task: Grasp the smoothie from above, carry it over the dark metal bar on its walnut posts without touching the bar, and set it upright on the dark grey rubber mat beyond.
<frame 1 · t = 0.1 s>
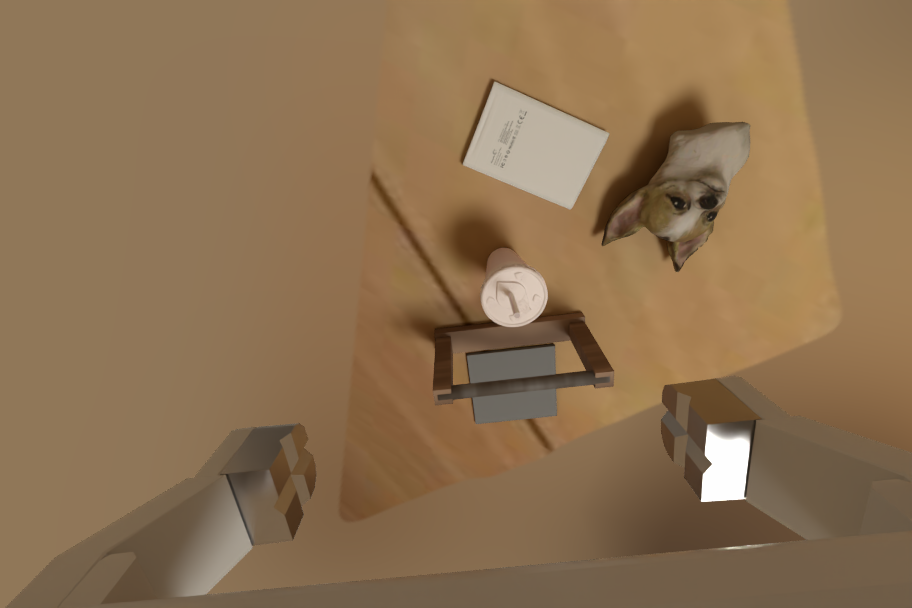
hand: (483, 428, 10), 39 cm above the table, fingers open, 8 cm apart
external hard drive: (532, 147, 45), on the table
ceramic sculpture: (665, 190, 46), on the table
smoothie: (503, 262, 49), on the table
bar hurdle: (508, 331, 53), on the table
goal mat: (513, 384, 56), on the table
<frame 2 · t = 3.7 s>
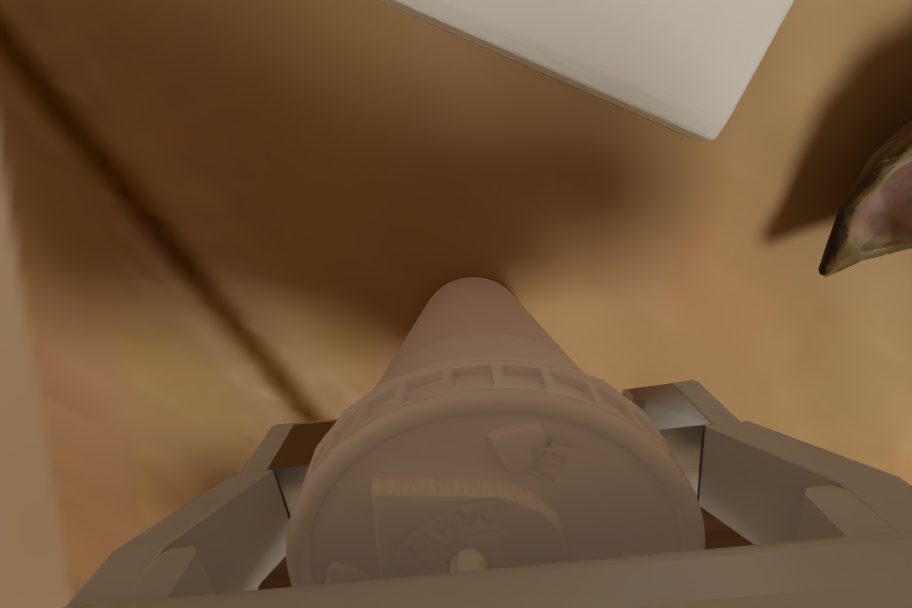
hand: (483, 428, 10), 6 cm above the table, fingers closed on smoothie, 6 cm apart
smoothie: (472, 324, 16), on the table, touching gripper
bar hurdle: (495, 518, 19), on the table
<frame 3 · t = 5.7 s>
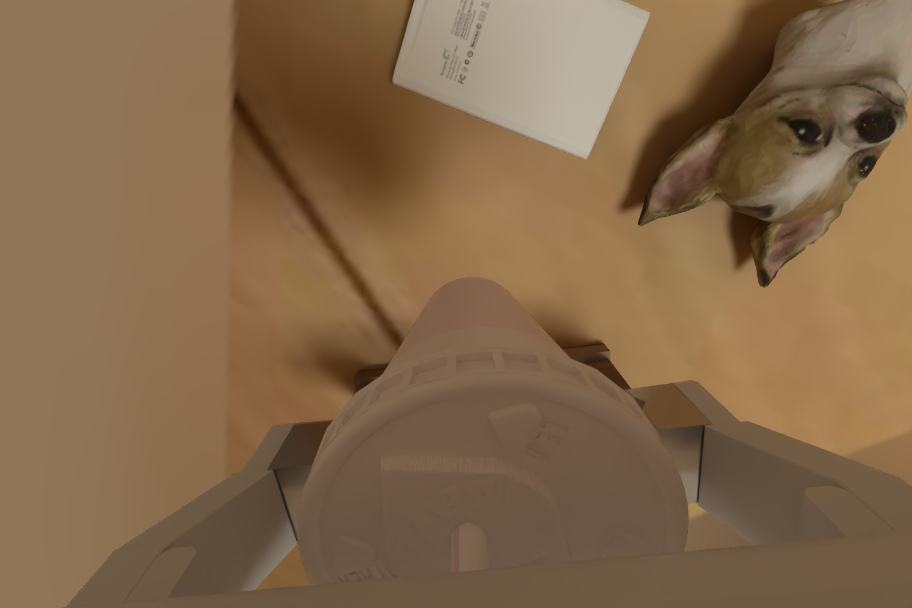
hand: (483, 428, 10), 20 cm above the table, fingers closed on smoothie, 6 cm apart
external hard drive: (514, 54, 26), on the table
ceramic sculpture: (750, 144, 27), on the table
smoothie: (471, 323, 16), point 13 cm above the table, touching gripper
bar hurdle: (481, 376, 32), on the table
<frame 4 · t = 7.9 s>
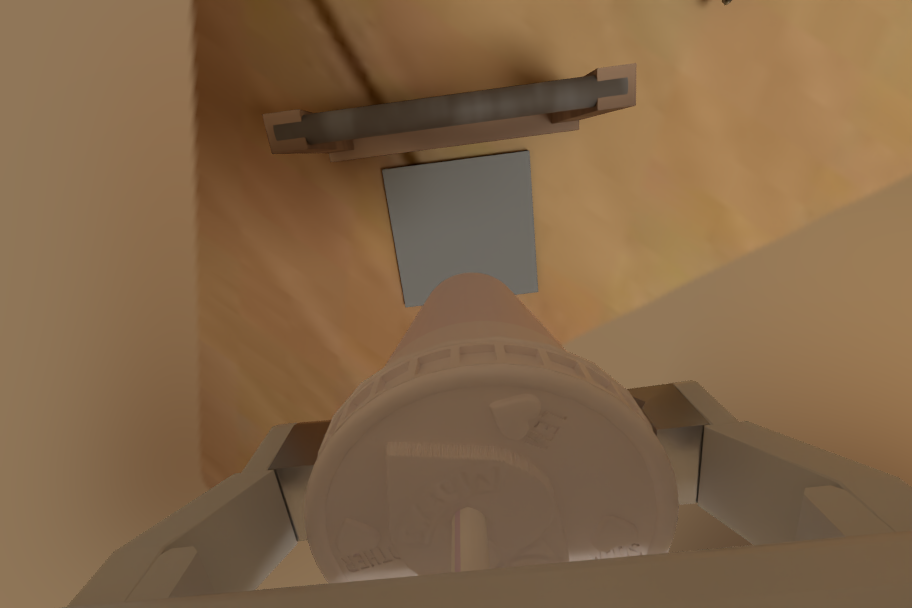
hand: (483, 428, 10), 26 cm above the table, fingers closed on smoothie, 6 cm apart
smoothie: (471, 317, 16), point 19 cm above the table, touching gripper
bar hurdle: (450, 124, 32), on the table
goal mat: (463, 232, 34), on the table
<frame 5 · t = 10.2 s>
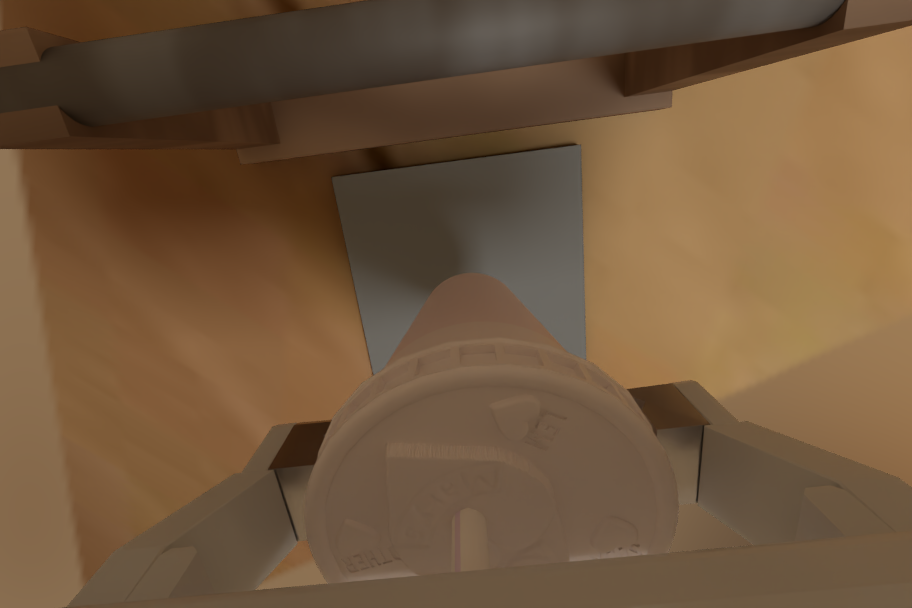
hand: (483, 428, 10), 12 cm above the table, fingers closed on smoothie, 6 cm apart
smoothie: (471, 318, 16), point 5 cm above the table, touching gripper
bar hurdle: (447, 99, 18), on the table
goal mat: (468, 277, 21), on the table
when the fingers open (8 cm above the table, at t = 12.1 s): smoothie moves 1 cm, resting on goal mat.
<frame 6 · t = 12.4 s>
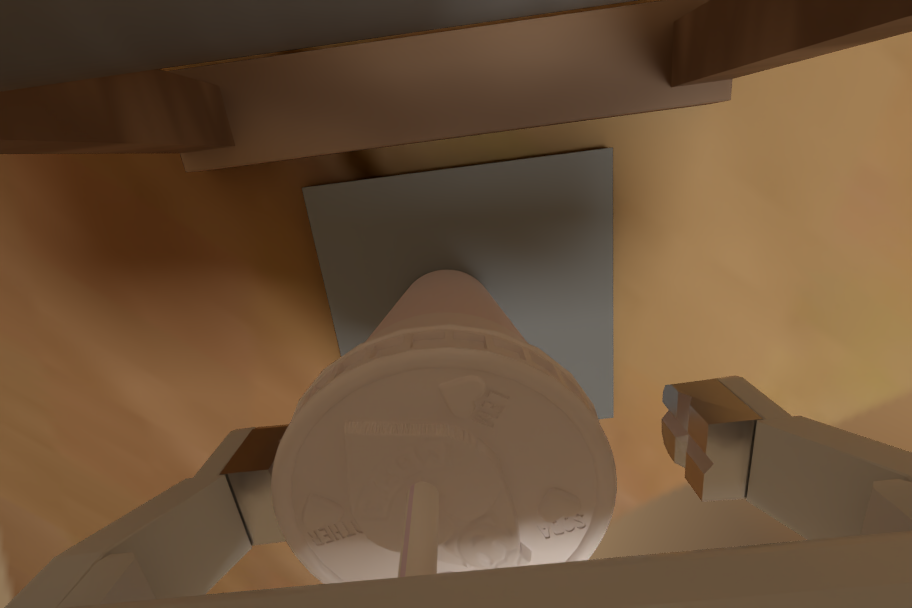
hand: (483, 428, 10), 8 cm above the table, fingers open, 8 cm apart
smoothie: (447, 313, 17), resting on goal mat, touching gripper
bar hurdle: (445, 91, 15), on the table
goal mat: (471, 309, 17), on the table
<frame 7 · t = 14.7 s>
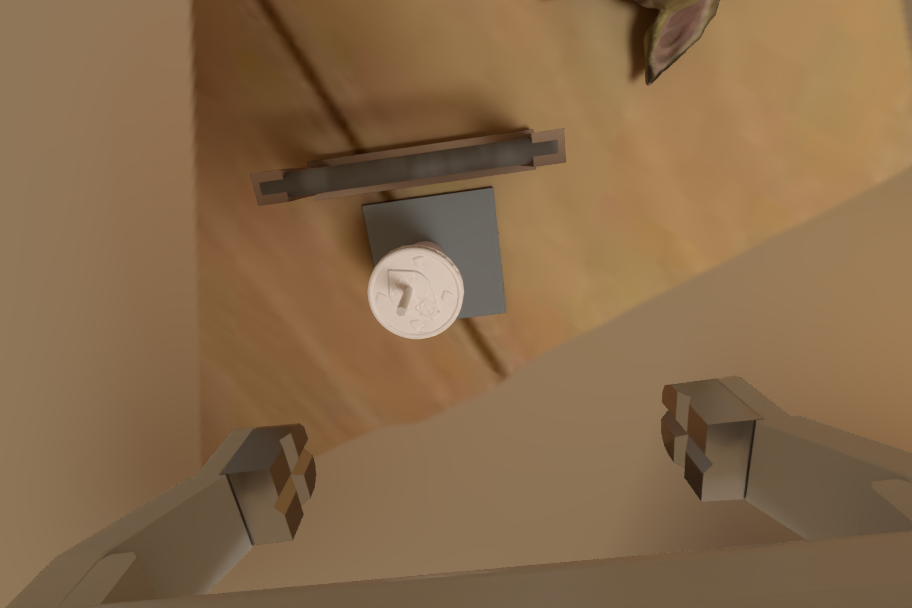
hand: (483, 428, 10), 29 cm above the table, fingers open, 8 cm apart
smoothie: (425, 261, 38), resting on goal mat
bar hurdle: (422, 165, 35), on the table
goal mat: (437, 260, 38), on the table
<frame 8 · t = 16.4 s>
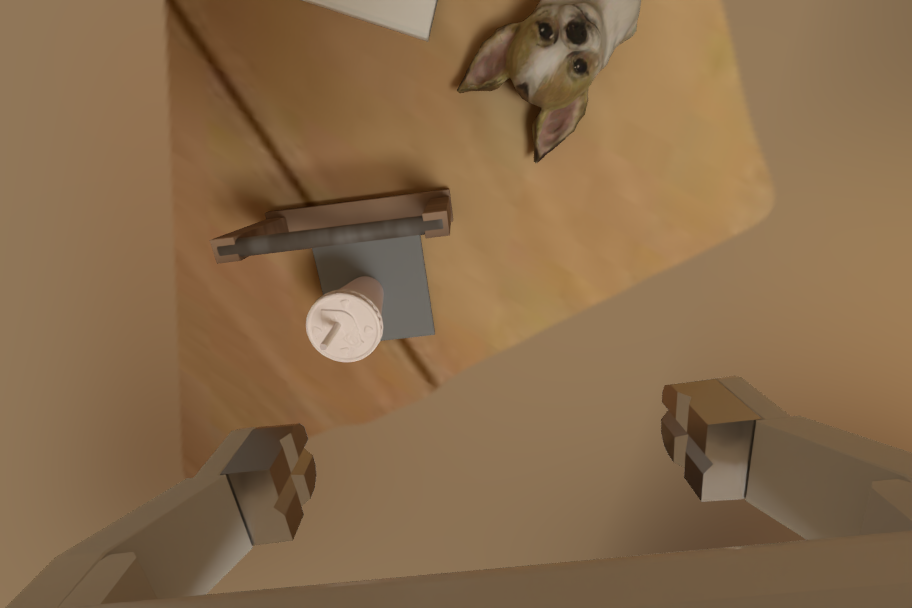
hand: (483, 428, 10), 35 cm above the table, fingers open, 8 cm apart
ceramic sculpture: (549, 61, 39), on the table
smoothie: (366, 292, 45), resting on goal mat
bar hurdle: (361, 215, 43), on the table
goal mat: (376, 291, 46), on the table
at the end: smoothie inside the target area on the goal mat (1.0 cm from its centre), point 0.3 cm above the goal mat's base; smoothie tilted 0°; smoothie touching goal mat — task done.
